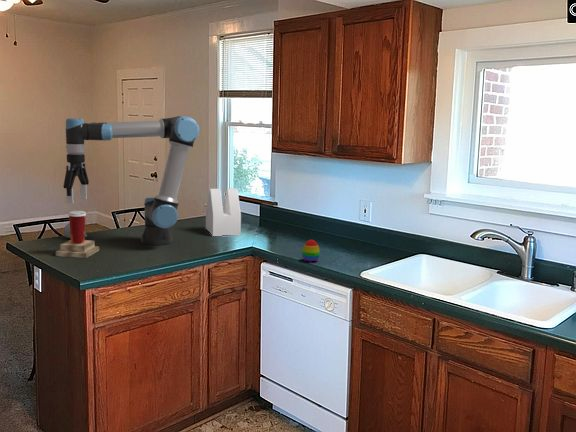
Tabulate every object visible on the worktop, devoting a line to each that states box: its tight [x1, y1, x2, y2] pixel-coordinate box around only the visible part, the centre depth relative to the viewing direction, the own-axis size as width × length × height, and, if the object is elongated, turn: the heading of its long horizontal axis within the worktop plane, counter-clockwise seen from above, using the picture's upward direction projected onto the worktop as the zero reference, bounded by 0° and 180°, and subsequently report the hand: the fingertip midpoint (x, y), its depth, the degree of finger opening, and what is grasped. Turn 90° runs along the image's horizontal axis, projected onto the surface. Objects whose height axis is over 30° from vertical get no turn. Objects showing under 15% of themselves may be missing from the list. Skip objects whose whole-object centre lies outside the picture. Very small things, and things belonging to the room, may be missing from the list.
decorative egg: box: [301, 239, 321, 262], centre depth 259 cm, size 8×8×10 cm
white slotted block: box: [205, 187, 242, 237], centre depth 312 cm, size 19×15×25 cm
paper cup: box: [68, 210, 87, 244], centre depth 254 cm, size 8×8×14 cm
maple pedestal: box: [55, 239, 100, 259], centre depth 255 cm, size 14×14×5 cm
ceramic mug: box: [63, 222, 88, 240], centre depth 285 cm, size 11×8×8 cm
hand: (77, 201), depth 252 cm, fingers open, 13 cm apart
